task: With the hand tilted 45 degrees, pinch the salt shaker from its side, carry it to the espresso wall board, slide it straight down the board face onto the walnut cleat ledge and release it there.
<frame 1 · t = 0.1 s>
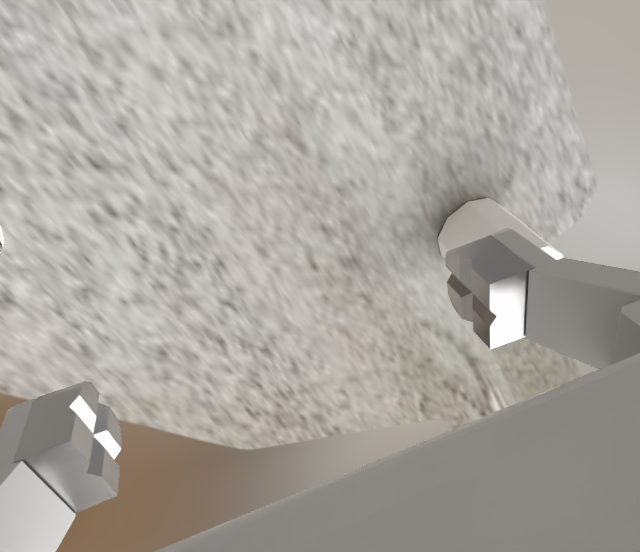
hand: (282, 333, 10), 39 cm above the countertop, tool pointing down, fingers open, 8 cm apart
toilet paper: (470, 230, 65), on the countertop
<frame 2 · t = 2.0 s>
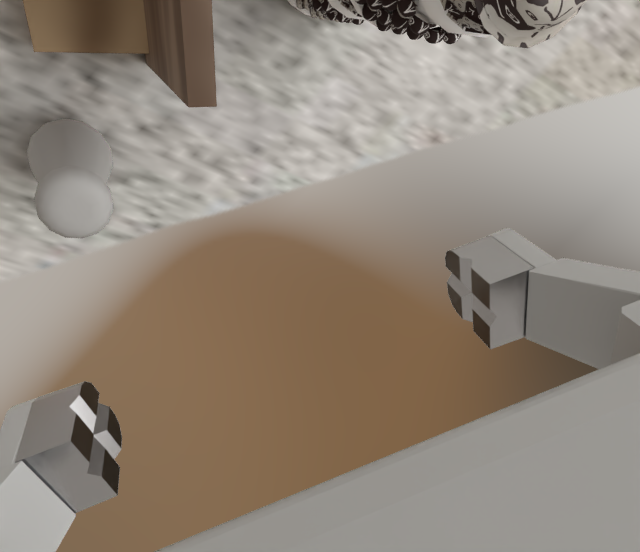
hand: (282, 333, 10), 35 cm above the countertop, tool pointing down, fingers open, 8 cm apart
salt shaker: (71, 148, 38), on the countertop
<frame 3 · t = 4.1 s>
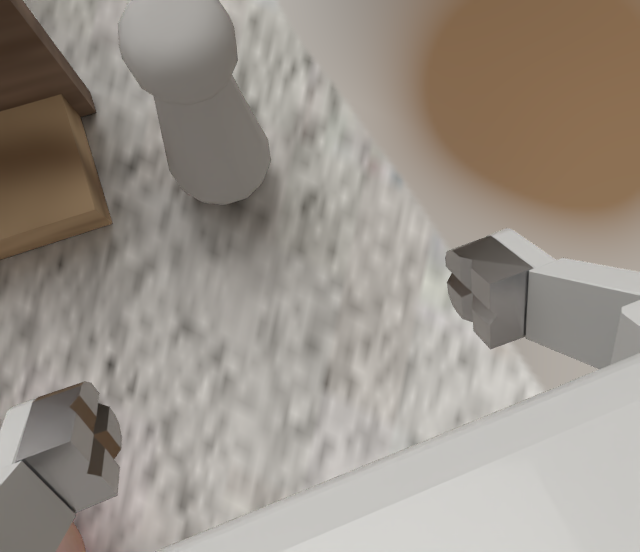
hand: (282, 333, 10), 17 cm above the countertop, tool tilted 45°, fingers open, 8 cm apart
decorative fruit: (42, 550, 25), on the countertop
salt shaker: (226, 173, 30), on the countertop
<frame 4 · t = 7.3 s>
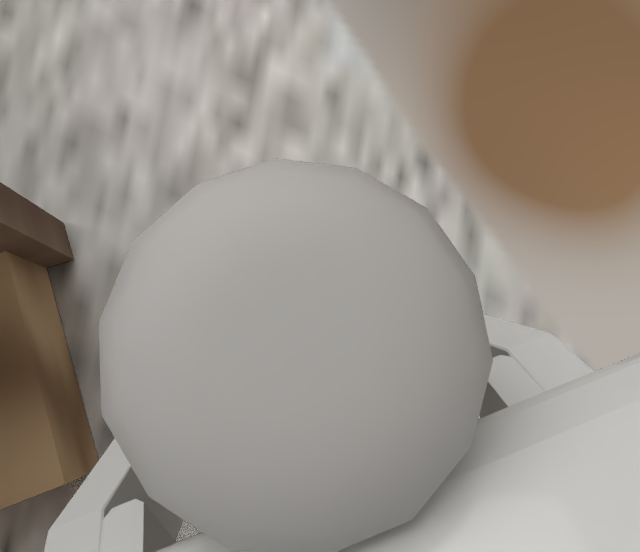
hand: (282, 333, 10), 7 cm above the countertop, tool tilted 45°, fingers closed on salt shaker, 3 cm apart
salt shaker: (295, 365, 17), on the countertop, touching gripper
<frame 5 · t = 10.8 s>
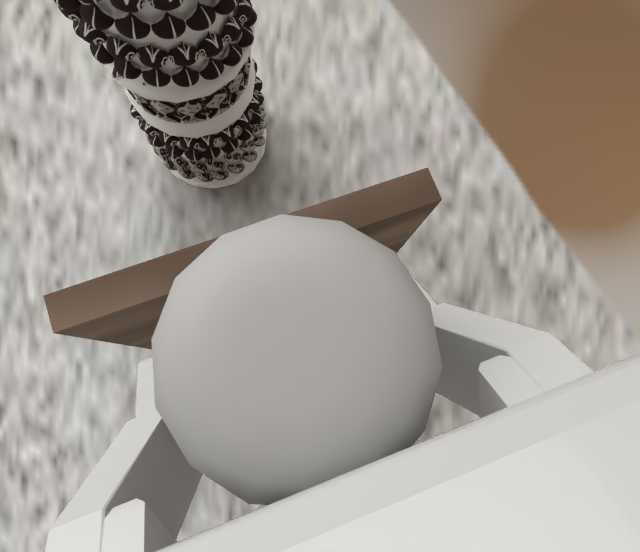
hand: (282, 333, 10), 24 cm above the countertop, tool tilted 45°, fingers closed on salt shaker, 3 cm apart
cleat board: (294, 368, 33), on the countertop
decorative candle: (212, 139, 37), on the countertop
salt shaker: (297, 364, 19), point 15 cm above the countertop, touching gripper
when the fingers open (11 cm above the countertop, at t = 13.2 s): salt shaker stays where it is, resting on cleat board.
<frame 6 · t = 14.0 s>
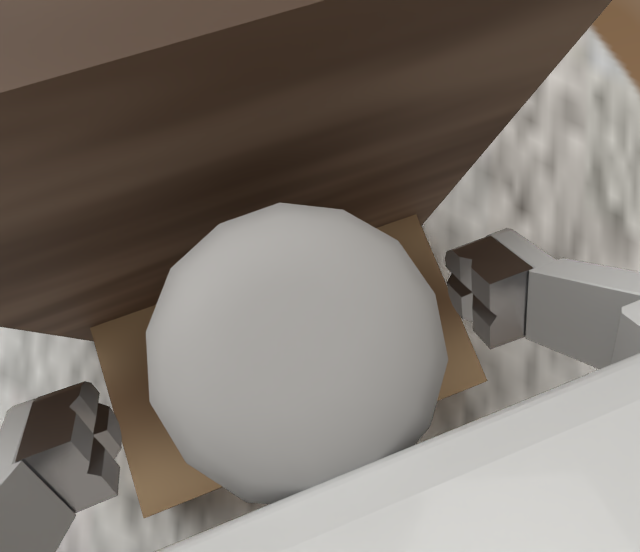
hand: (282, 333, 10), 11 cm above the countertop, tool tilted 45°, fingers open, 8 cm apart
cleat board: (295, 367, 21), on the countertop
salt shaker: (298, 364, 19), point 2 cm above the countertop, touching cleat board
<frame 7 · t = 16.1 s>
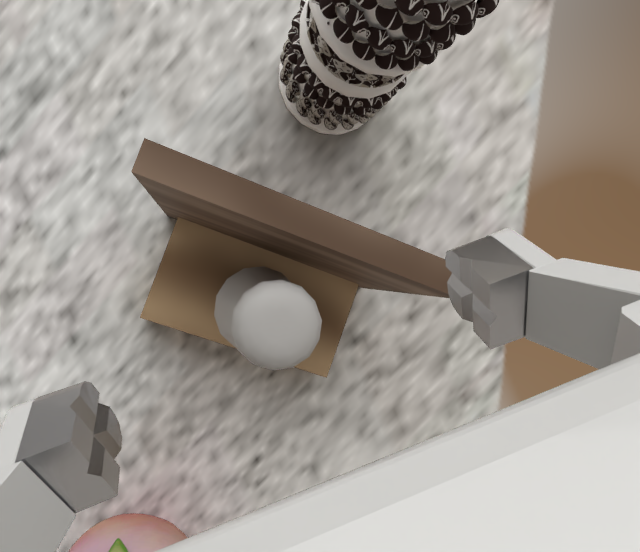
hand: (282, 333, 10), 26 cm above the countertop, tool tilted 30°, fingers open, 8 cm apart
cleat board: (250, 304, 36), on the countertop
decorative fruit: (144, 542, 35), on the countertop
decorative candle: (329, 82, 38), on the countertop
salt shaker: (254, 306, 34), point 2 cm above the countertop, touching cleat board
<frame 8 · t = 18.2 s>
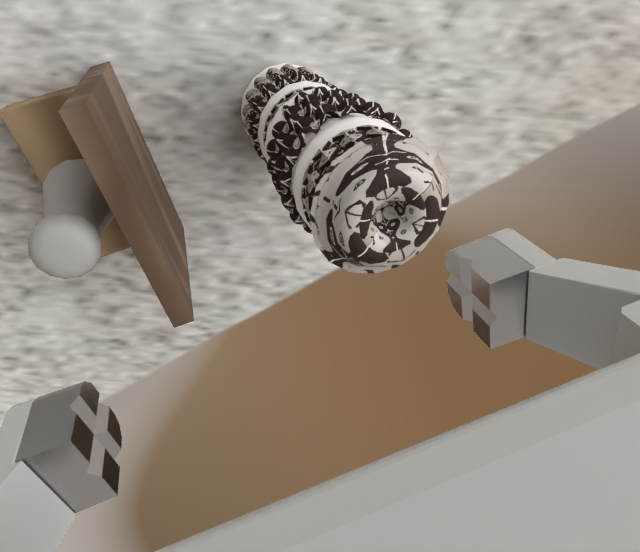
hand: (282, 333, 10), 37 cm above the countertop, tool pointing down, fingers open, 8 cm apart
cleat board: (88, 172, 43), on the countertop
decorative candle: (284, 110, 45), on the countertop
salt shaker: (87, 183, 41), point 2 cm above the countertop, touching cleat board
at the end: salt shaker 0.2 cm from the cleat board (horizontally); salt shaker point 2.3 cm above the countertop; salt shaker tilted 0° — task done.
